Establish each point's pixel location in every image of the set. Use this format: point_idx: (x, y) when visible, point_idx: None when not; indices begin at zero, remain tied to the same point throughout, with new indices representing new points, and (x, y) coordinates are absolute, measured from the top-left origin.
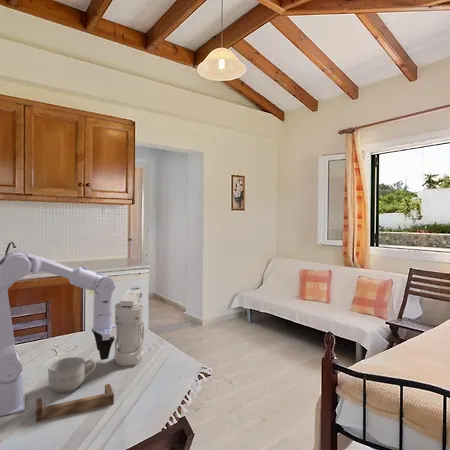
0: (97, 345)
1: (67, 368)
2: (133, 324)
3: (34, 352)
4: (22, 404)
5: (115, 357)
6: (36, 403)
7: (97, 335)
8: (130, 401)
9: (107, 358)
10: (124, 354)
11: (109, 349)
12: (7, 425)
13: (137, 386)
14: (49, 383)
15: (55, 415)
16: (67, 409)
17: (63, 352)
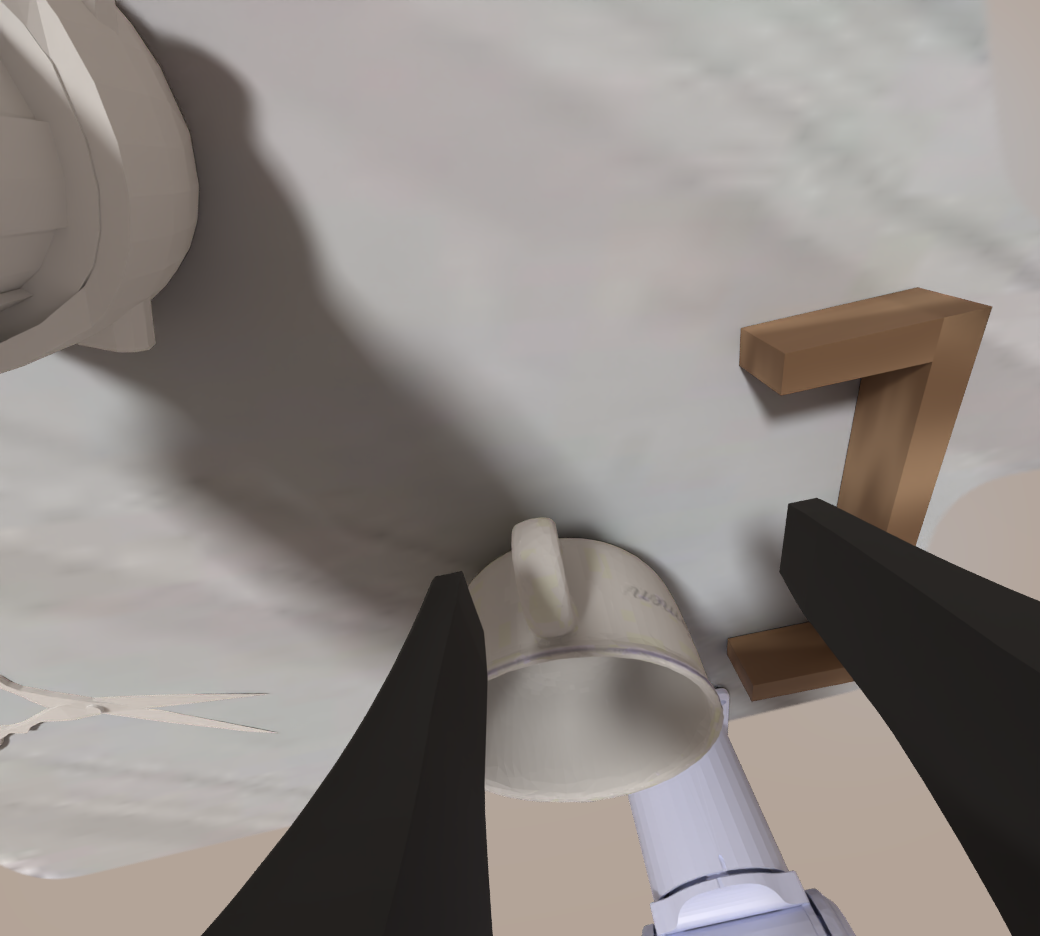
0: (486, 704)
1: None
2: None
3: (79, 795)
4: None
5: (136, 331)
6: (799, 691)
7: (476, 917)
8: (967, 131)
9: (827, 505)
10: (116, 211)
11: (996, 592)
12: (797, 699)
13: (730, 31)
14: (604, 693)
15: None
16: None
17: (35, 696)
